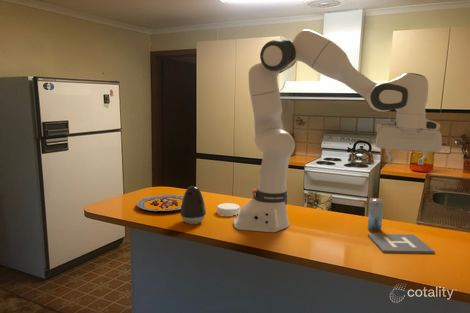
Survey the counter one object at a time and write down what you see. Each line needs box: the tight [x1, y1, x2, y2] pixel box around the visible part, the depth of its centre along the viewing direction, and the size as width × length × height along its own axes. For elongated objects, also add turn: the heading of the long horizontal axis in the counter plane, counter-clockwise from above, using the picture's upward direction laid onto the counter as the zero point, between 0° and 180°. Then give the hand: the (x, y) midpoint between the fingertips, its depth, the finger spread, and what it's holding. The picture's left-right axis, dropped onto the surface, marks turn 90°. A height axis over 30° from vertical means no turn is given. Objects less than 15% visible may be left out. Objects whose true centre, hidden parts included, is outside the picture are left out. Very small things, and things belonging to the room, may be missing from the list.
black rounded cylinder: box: [180, 185, 207, 225], centre depth 147 cm, size 10×10×15 cm
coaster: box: [216, 202, 241, 217], centre depth 161 cm, size 10×10×4 cm
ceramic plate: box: [136, 194, 184, 212], centre depth 170 cm, size 26×26×3 cm
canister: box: [367, 197, 384, 233], centre depth 141 cm, size 5×5×12 cm
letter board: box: [367, 233, 436, 255], centre depth 128 cm, size 17×15×1 cm
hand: (405, 163), depth 124 cm, fingers open, 8 cm apart
